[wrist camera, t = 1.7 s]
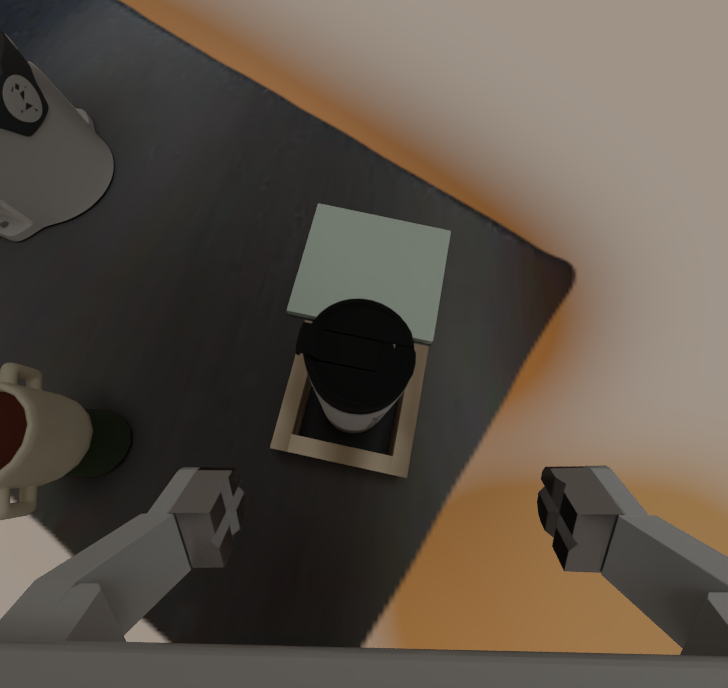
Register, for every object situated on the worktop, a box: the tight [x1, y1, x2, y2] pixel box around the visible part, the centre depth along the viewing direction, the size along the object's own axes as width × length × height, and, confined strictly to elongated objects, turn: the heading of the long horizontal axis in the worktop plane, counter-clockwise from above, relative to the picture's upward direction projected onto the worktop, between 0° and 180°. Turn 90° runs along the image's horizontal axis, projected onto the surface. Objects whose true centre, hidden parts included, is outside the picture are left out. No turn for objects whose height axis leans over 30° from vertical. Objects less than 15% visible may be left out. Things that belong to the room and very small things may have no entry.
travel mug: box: [296, 298, 416, 434], centre depth 29 cm, size 6×7×20 cm
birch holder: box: [270, 320, 429, 478], centre depth 36 cm, size 12×12×5 cm
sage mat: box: [287, 203, 451, 344], centre depth 43 cm, size 16×14×1 cm
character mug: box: [0, 363, 131, 520], centre depth 30 cm, size 11×7×13 cm, turn 11°
